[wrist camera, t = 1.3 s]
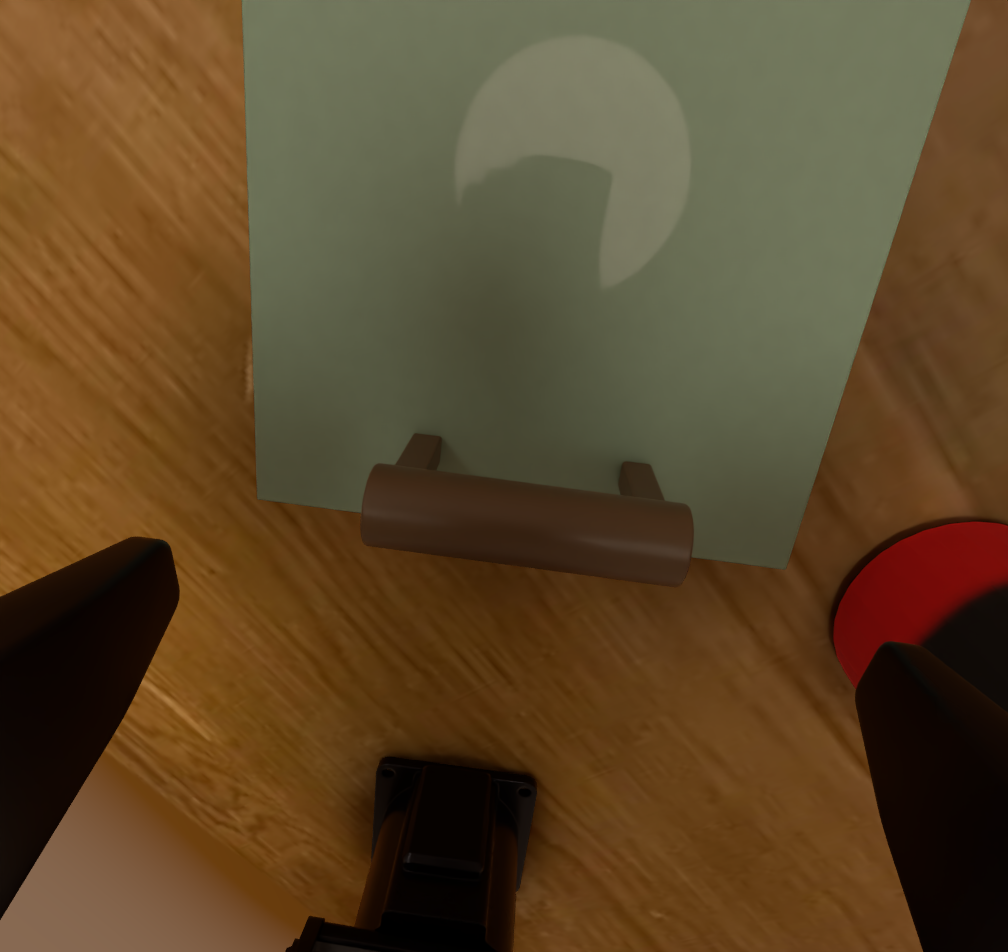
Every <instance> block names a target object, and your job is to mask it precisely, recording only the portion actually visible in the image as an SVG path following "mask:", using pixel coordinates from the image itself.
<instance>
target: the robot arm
mask: <svg viewBox="0 0 1008 952" xmlns="http://www.w3.org/2000/svg"><path fill="white" fill-rule="evenodd" d="M179 594H180V590H179V584H178V579H177V574H176V569H175V565H174V560H173V555H172V551H171V548H170V546H169V544H168V543H167V542H166V541H163V540H160V539H153V538H146V537H130V538H128V539H125V540H123V541H121V542H119V543H117V544H114V545H112V546H110V547H108V548H106V549H104V550H101V551H99V552H97V553H95V554H93V555H91V556H88V557H86V558H84V559H82V560H80V561H77V562H75V563H73V564H71V565H69V566H67V567H64V568H62V569H60V570H58V571H56V572H53V573H51V574H49V575H47V576H45V577H43V578H40V579H38V580H36V581H34V582H32V583H30V584H27V585H25V586H23V587H21V588H19V589H16V590H14V591H12V592H10V593H8V594H6V595H3V596H1V597H0V920H1V918H2V916H3V914H4V913H5V911H6V910H7V908H8V907H9V905H10V903H11V902H12V900H13V898H14V897H15V895H16V893H17V892H18V890H19V888H20V887H21V885H22V883H23V882H24V880H25V879H26V877H27V875H28V874H29V872H30V870H31V869H32V867H33V866H34V864H35V862H36V861H37V859H38V857H39V856H40V854H41V852H42V851H43V849H44V848H45V846H46V844H47V843H48V841H49V839H50V838H51V836H52V834H53V833H54V831H55V829H56V828H57V826H58V825H59V823H60V821H61V820H62V818H63V816H64V815H65V813H66V812H67V810H68V808H69V807H70V805H71V803H72V802H73V800H74V798H75V797H76V795H77V794H78V792H79V790H80V789H81V787H82V785H83V784H84V782H85V780H86V779H87V777H88V776H89V774H90V772H91V771H92V769H93V767H94V766H95V764H96V762H97V761H98V759H99V757H100V756H101V754H102V753H103V751H104V749H105V748H106V746H107V744H108V743H109V741H110V740H111V738H112V736H113V735H114V733H115V731H116V730H117V728H118V726H119V724H120V723H121V721H122V719H123V717H124V716H125V714H126V712H127V710H128V708H129V706H130V704H131V702H132V700H133V698H134V696H135V694H136V692H137V690H138V688H139V686H140V684H141V682H142V679H143V677H144V675H145V673H146V671H147V669H148V667H149V665H150V663H151V660H152V658H153V656H154V654H155V652H156V650H157V648H158V646H159V644H160V641H161V639H162V637H163V635H164V633H165V631H166V629H167V627H168V625H169V623H170V620H171V618H172V616H173V614H174V612H175V610H176V607H177V605H178V601H179ZM855 702H856V708H857V713H858V718H859V722H860V727H861V732H862V736H863V741H864V745H865V750H866V755H867V759H868V764H869V769H870V773H871V778H872V783H873V787H874V792H875V797H876V801H877V806H878V810H879V814H880V818H881V822H882V825H883V829H884V832H885V835H886V839H887V842H888V845H889V848H890V851H891V854H892V857H893V861H894V864H895V867H896V870H897V873H898V876H899V879H900V882H901V885H902V888H903V891H904V894H905V897H906V900H907V903H908V906H909V910H910V913H911V916H912V919H913V922H914V925H915V928H916V931H917V934H918V937H919V940H920V943H921V946H922V949H923V952H1008V713H1007V712H1006V711H1005V710H1003V709H1002V708H1001V707H1000V706H998V705H997V704H996V703H994V702H993V701H992V700H991V699H989V698H988V697H987V696H986V695H984V694H983V693H982V692H980V691H979V690H978V689H977V688H975V687H974V686H973V685H971V684H970V683H969V682H968V681H966V680H965V679H964V678H962V677H961V676H960V675H959V674H957V673H956V672H955V671H954V670H952V669H951V668H950V667H948V666H947V665H946V664H945V663H943V662H942V661H941V660H939V659H938V658H937V657H936V656H934V655H933V654H932V653H931V652H929V651H928V650H927V649H925V648H924V647H922V646H919V645H915V644H909V643H902V642H894V641H888V642H885V643H883V644H882V645H880V646H879V648H878V649H877V651H876V653H875V654H874V656H873V658H872V660H871V661H870V663H869V665H868V667H867V668H866V670H865V672H864V674H863V675H862V677H861V679H860V681H859V682H858V685H857V688H856V693H855ZM387 769H390V770H392V771H390V770H387ZM522 788H527V789H522ZM536 796H537V782H536V781H535V779H533V778H532V777H530V776H527V775H520V774H513V773H505V772H498V771H491V770H484V769H476V768H469V767H462V766H455V765H448V764H440V763H433V762H426V761H419V760H411V759H404V758H397V757H385V758H382V759H381V760H380V761H379V765H378V768H377V771H376V784H375V802H374V820H373V838H372V856H371V866H370V869H369V873H368V877H367V881H366V884H365V888H364V892H363V895H362V899H361V903H360V906H359V910H358V914H357V917H356V921H355V925H354V927H352V926H347V925H341V924H335V923H329V922H325V918H319V917H313V916H309V917H308V920H307V922H306V924H305V927H304V929H303V932H302V934H301V936H300V939H295V940H294V942H293V945H292V946H291V947H289V948H287V949H286V952H513V943H514V922H515V901H516V892H517V891H518V890H519V888H520V882H521V877H522V872H523V866H524V861H525V855H526V850H527V845H528V839H529V834H530V828H531V823H532V817H533V812H534V807H535V801H536Z"/></svg>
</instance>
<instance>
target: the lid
mask: <svg viewBox="0 0 1008 952" xmlns="http://www.w3.org/2000/svg"><path fill="white" fill-rule="evenodd" d="M970 1H971V0H242V21H243V53H244V86H245V118H246V151H247V183H248V216H249V249H250V281H251V314H252V346H253V379H254V411H255V444H256V476H257V499H259V500H267V501H274V502H282V503H289V504H297V505H304V506H312V507H319V508H327V509H334V510H342V511H349V512H357V513H361V524H360V526H361V537H362V541H363V543H364V544H365V545H366V546H371V547H379V548H386V549H394V550H401V551H409V552H416V553H423V554H431V555H438V556H446V557H453V558H461V559H468V560H476V561H483V562H491V563H498V564H505V565H513V566H520V567H528V568H535V569H543V570H550V571H558V572H565V573H573V574H580V575H587V576H595V577H602V578H610V579H617V580H625V581H632V582H640V583H647V584H654V585H662V586H669V587H678V586H680V585H681V584H682V583H683V581H684V579H685V577H686V575H687V572H688V569H689V566H690V561H691V557H694V558H701V559H709V560H716V561H724V562H731V563H739V564H746V565H754V566H761V567H769V568H776V569H784V570H785V569H786V567H787V564H788V561H789V558H790V555H791V552H792V549H793V546H794V543H795V539H796V536H797V533H798V530H799V527H800V524H801V521H802V518H803V515H804V512H805V509H806V506H807V503H808V499H809V496H810V493H811V490H812V487H813V484H814V481H815V478H816V475H817V472H818V469H819V466H820V463H821V459H822V456H823V453H824V450H825V447H826V444H827V441H828V438H829V435H830V432H831V429H832V426H833V423H834V420H835V416H836V413H837V410H838V407H839V404H840V401H841V398H842V395H843V392H844V389H845V386H846V383H847V380H848V376H849V373H850V370H851V367H852V364H853V361H854V358H855V355H856V352H857V349H858V346H859V343H860V340H861V336H862V333H863V330H864V327H865V324H866V321H867V318H868V315H869V312H870V309H871V306H872V303H873V300H874V296H875V293H876V290H877V287H878V284H879V281H880V278H881V275H882V272H883V269H884V266H885V263H886V260H887V257H888V253H889V250H890V247H891V244H892V241H893V238H894V235H895V232H896V229H897V226H898V223H899V220H900V217H901V213H902V210H903V207H904V204H905V201H906V198H907V195H908V192H909V189H910V186H911V183H912V180H913V177H914V173H915V170H916V167H917V164H918V161H919V158H920V155H921V152H922V149H923V146H924V143H925V140H926V137H927V134H928V130H929V127H930V124H931V121H932V118H933V115H934V112H935V109H936V106H937V103H938V100H939V97H940V94H941V90H942V87H943V84H944V81H945V78H946V75H947V72H948V69H949V66H950V63H951V60H952V57H953V54H954V50H955V47H956V44H957V41H958V38H959V35H960V32H961V29H962V26H963V23H964V20H965V17H966V14H967V11H968V7H969V4H970Z"/></svg>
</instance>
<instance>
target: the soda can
mask: <svg viewBox="0 0 1008 952" xmlns="http://www.w3.org/2000/svg"><path fill="white" fill-rule="evenodd" d="M833 640H834V645H835V650H836V655H837V658H838V660H839V662H840V664H841V666H842V668H843V670H844V672H845V673H846V675H847V676H848V678H849V680H850V681H851V683H852V684H853V686H854V687H855V689H856V688H857V685H858V682H859V681H860V679H861V677H862V675H863V674H864V672H865V670H866V668H867V667H868V665H869V663H870V661H871V660H872V658H873V656H874V654H875V653H876V651H877V649H878V648H879V646H880V645H882V644H883V643H885V642H888V641H894V642H902V643H909V644H915V645H919V646H922V647H924V648H925V649H927V650H928V651H929V652H931V653H932V654H933V655H934V656H936V657H937V658H938V659H939V660H941V661H942V662H943V663H945V664H946V665H947V666H948V667H950V668H951V669H952V670H954V671H955V672H956V673H957V674H959V675H960V676H961V677H962V678H964V679H965V680H966V681H968V682H969V683H970V684H971V685H973V686H974V687H975V688H977V689H978V690H979V691H980V692H982V693H983V694H984V695H986V696H987V697H988V698H989V699H991V700H992V701H993V702H994V703H996V704H997V705H998V706H1000V707H1001V708H1002V709H1003V710H1005V711H1006V712H1007V713H1008V526H1007V525H1003V524H999V523H988V522H975V521H974V522H963V523H953V524H947V525H943V526H939V527H935V528H931V529H927V530H924V531H922V532H919V533H917V534H915V535H912V536H910V537H908V538H905V539H903V540H901V541H899V542H897V543H896V544H894V545H892V546H891V547H889V548H888V549H886V550H884V551H883V552H881V553H880V554H879V555H878V556H877V557H875V558H874V559H873V560H872V561H871V562H870V563H868V564H867V565H866V566H865V567H864V568H863V569H862V571H861V572H860V573H859V574H858V575H857V577H856V578H855V579H854V580H853V582H852V583H851V584H850V585H849V587H848V589H847V591H846V593H845V594H844V596H843V598H842V600H841V602H840V604H839V607H838V611H837V614H836V618H835V621H834V637H833Z"/></svg>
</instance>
